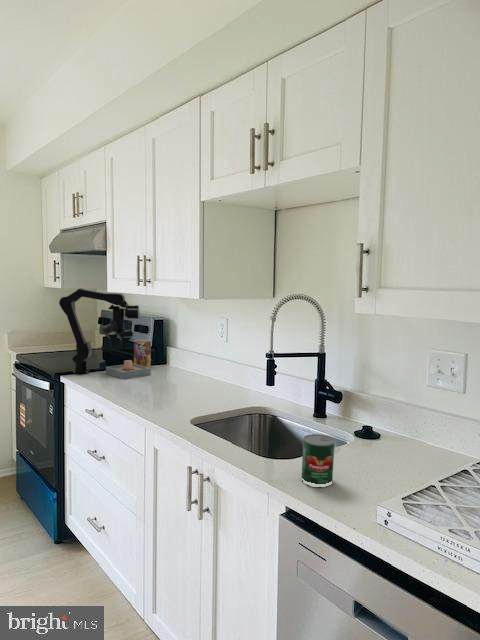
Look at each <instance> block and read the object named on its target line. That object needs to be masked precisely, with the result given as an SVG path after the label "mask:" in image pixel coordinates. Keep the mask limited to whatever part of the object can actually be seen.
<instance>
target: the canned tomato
mask: <svg viewBox="0 0 480 640" xmlns="http://www.w3.org/2000/svg"><path fill="white" fill-rule="evenodd" d="M302 439H303V442H302V443H303V444H302V457H301V458H302V459H301V462H302V463H301V465H302V466H301V478H303V479H304V480H305V481H307V482H311V483H315V484H326V483H329V482H331V481H332V482H333V478H334V477H333V476H334V475H333V474H334V462H335V461H334V458H335V456H334V455H335V443H336V441H335V440H336V439H334V438H333V437H332V436H328V435H325V434H321V433H320V434H318V433H315V434H307V435H305V436H303V438H302Z"/></svg>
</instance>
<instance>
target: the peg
mask: <svg viewBox="0 0 480 640" xmlns="http://www.w3.org/2000/svg"><path fill="white" fill-rule="evenodd" d="M132 364H133V360H132V359H126V360H124V361H123V365H124V371H131V370H132Z"/></svg>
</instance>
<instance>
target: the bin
mask: <svg viewBox="0 0 480 640" xmlns="http://www.w3.org/2000/svg"><path fill="white" fill-rule="evenodd" d="M151 370H152V369H151V367H150V368H148V367H144V366H140V365H137V364H134V363H132V370H131V371H124V364H119V365H110V366H105V374H106V375H108V376H112V377H115V378H118V379H119V380H120V379H121V380H127V379H128V380H129V379H133V378H140V377H142V378H143V377H146V376H151Z"/></svg>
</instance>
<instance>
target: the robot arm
mask: <svg viewBox="0 0 480 640" xmlns="http://www.w3.org/2000/svg"><path fill="white" fill-rule="evenodd" d="M81 298H86V299H87V298H88V299H93V300H100V301H104V302H107V303H109V304H110V306H109V307H108V308H107V309H108V310H112V316H111V318H112V319H111V320H110V321H109V323H107V324H106V325H103V326H101V327H100V328H101V331H102V334H103V335H105V336H106V337H107V338H108V339H109V343H110V345H111V348H112V349H114V348H115V347H116V344H117V340H118V339H119V340H120V348H121V351H124V350H125V349H126V347H127V345H128V343H129V341H130V339H132V337H134V332H133V331H132V330H129V329H127V330H126V328H125V323H126V322H127V321H126V320H125V317H126V318H127V319H128V320H133V319H135V320H139V319H140V308H139V307H140V306H139V304H138V305H137V304H136V305H129V303H128V302H127V301H126V297H125V295H124V294H123V293H119V292H118V293H116V292H115V293H114V292H113V293H112V292H110V293H109V292H100V291H96V290H89V289H84V288H78V289H77V290H75V291H74V292H72V293H70V294H68V295H67V296H63V297H61V298H60V299H59V301H58V304H59V306H60V308H61V310H62V312H63V313H64V314H65V315H66V317H67V321H68V323H69V326H70V329H71V331H72V334H73V337H74V340H75V344H76V345H75V349H76V354H75V355H74V356H73V357H72V362H73V363H74V370H72V371H73V374H75V375H82V374H90V371H88V370H87V360H88V358H89V357H90V356H91V355H92V353H93V351H92V350H93V347H92V345H91V341H87V340H86V339H85V336H84V333H83V329H82V328H81V325H80V322H79V319H78V316H77V313H76V302H77V301H79V300H80V299H81ZM126 324H127V323H126Z"/></svg>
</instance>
